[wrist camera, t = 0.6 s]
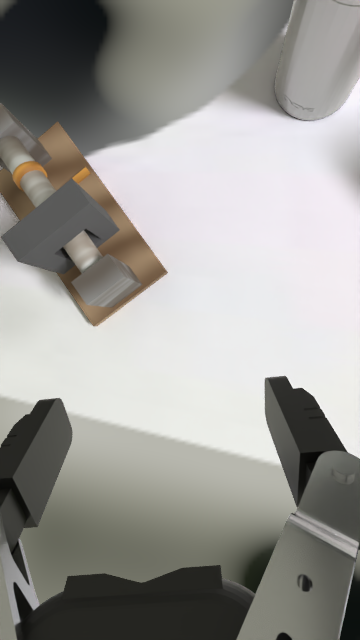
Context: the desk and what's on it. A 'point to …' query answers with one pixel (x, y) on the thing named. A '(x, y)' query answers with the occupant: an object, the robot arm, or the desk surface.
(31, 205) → the pipe stand
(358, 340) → the desk surface
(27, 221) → the gray notched block
